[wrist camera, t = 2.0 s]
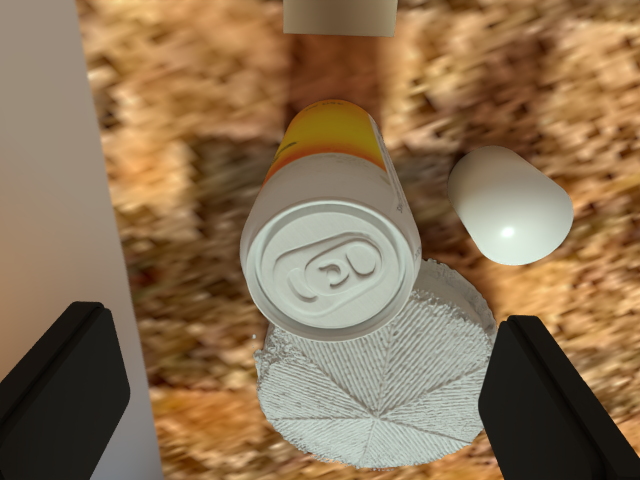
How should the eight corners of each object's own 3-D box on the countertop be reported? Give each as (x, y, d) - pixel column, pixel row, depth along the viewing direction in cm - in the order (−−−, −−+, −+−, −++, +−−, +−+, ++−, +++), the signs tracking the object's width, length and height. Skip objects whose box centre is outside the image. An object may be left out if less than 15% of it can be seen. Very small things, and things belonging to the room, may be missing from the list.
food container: (468, 437, 39) (494, 512, 33) (255, 429, 39) (242, 503, 33) (524, 249, 30) (574, 306, 24) (246, 237, 30) (226, 291, 24)
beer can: (266, 128, 26) (192, 242, 13) (354, 77, 24) (375, 147, 11) (314, 207, 28) (295, 374, 15) (397, 166, 27) (457, 311, 14)
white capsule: (535, 147, 26) (586, 180, 21) (515, 220, 28) (557, 267, 23) (454, 144, 26) (484, 176, 21) (441, 217, 28) (465, 263, 23)
